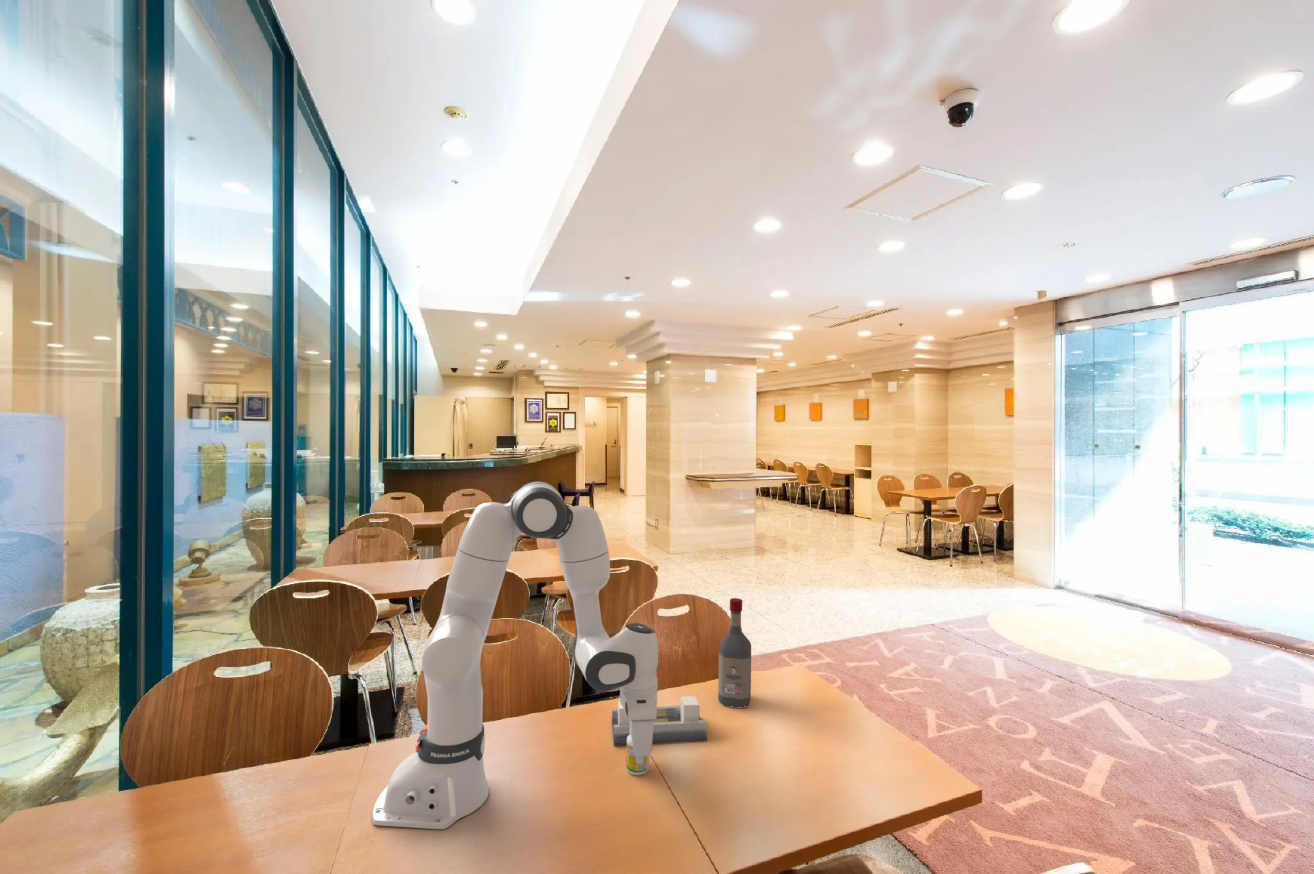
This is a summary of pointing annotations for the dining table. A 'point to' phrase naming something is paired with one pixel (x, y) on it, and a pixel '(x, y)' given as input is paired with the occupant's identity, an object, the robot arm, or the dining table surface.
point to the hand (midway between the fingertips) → (637, 753)
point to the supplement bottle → (630, 760)
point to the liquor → (735, 662)
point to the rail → (664, 727)
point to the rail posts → (687, 713)
